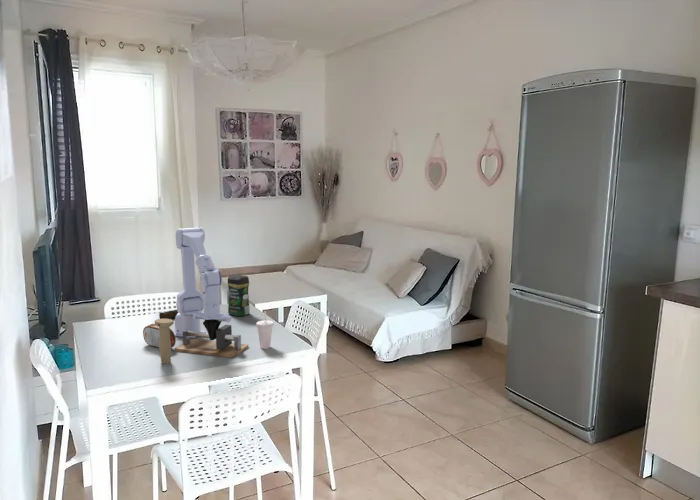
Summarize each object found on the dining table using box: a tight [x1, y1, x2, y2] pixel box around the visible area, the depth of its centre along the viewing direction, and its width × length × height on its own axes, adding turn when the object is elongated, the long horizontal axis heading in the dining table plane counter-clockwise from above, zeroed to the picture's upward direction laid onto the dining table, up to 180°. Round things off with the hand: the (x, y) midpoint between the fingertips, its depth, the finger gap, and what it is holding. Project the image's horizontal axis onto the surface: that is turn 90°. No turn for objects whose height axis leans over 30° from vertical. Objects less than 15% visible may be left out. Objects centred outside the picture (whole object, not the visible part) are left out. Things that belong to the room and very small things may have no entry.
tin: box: [142, 323, 177, 349], centre depth 202 cm, size 15×3×8 cm, turn 61°
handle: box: [154, 318, 175, 365], centre depth 186 cm, size 5×6×15 cm
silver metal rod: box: [182, 329, 242, 351], centre depth 200 cm, size 23×2×5 cm, turn 74°
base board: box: [174, 338, 249, 359], centre depth 201 cm, size 24×12×1 cm, turn 74°
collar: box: [215, 324, 233, 350], centre depth 198 cm, size 2×7×7 cm, turn 164°
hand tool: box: [158, 309, 178, 319], centre depth 243 cm, size 19×4×5 cm, turn 138°
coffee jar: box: [227, 273, 251, 317], centre depth 246 cm, size 10×8×19 cm
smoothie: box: [256, 311, 274, 350], centre depth 202 cm, size 6×6×14 cm
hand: (212, 339), depth 197 cm, fingers closed
